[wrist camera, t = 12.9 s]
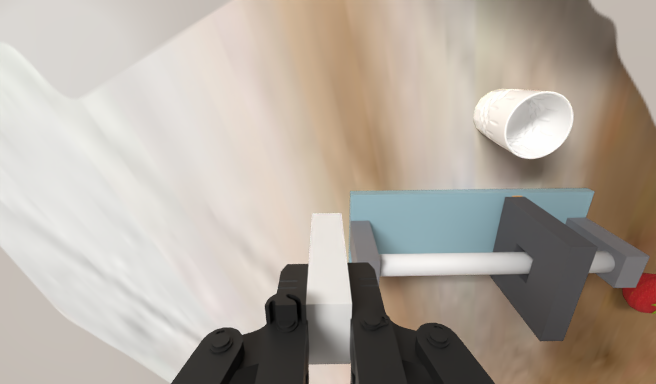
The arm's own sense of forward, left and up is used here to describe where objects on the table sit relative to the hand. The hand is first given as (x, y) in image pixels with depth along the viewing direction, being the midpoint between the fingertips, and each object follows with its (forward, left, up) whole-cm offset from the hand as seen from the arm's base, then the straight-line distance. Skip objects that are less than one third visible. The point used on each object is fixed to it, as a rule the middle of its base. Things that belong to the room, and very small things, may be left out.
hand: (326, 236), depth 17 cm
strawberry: (+28, +54, -33) cm, 69 cm away
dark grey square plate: (+18, +29, -29) cm, 45 cm away
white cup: (-1, +25, -33) cm, 41 cm away
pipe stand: (+18, +23, -32) cm, 44 cm away
